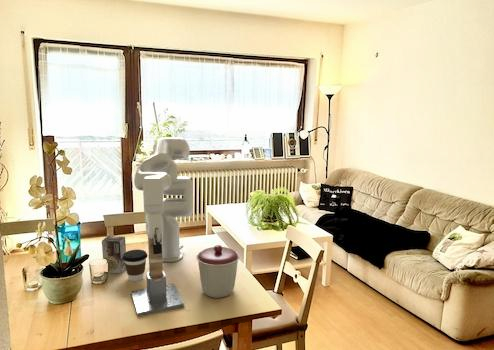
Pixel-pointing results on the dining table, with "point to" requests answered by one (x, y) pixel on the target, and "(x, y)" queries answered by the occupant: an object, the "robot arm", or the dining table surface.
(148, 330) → the dining table surface
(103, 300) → the dining table surface
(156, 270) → the post
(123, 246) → the coffee box
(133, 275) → the coffee cup
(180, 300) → the stand
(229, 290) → the canister
